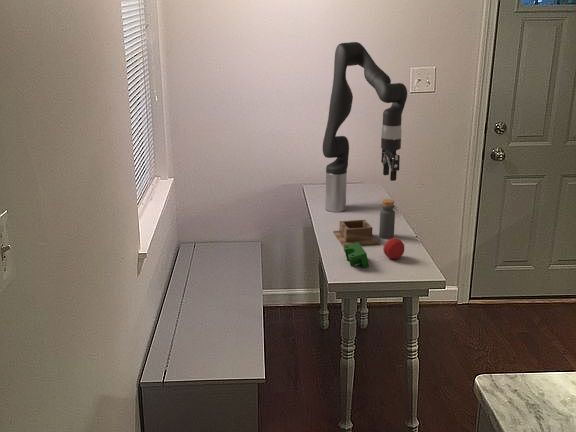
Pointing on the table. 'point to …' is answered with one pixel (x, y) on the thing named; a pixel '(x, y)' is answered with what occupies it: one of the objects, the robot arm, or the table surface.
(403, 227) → the table surface
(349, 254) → the clamp
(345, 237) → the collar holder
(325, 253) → the table surface
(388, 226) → the bottle
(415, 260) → the table surface
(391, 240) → the tomato
